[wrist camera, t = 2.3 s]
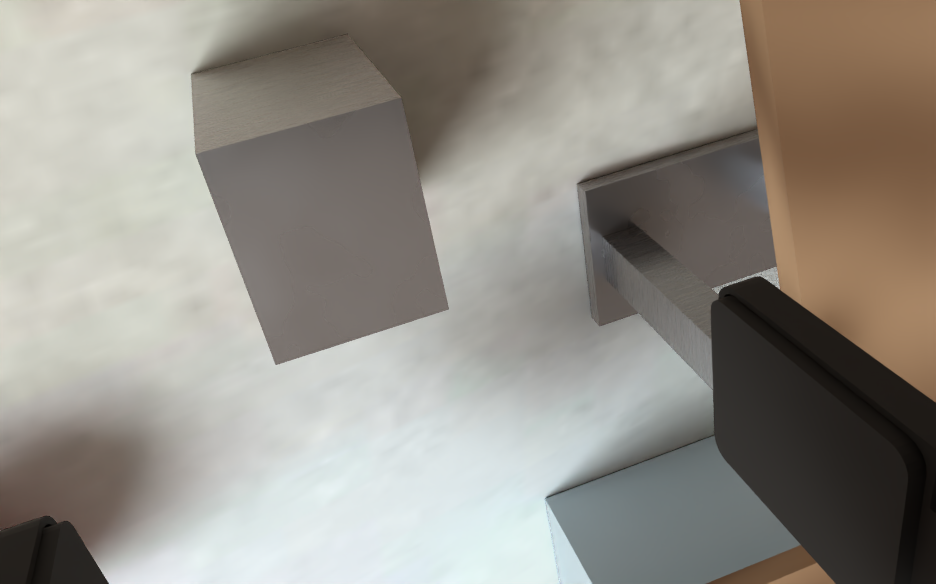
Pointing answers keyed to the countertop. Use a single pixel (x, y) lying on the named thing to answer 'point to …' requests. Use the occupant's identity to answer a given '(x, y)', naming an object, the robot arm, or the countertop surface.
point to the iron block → (317, 194)
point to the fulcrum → (677, 239)
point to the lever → (849, 183)
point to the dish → (663, 523)
